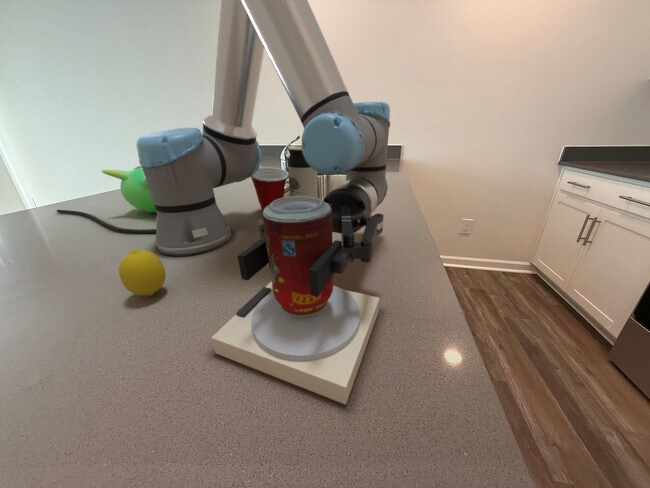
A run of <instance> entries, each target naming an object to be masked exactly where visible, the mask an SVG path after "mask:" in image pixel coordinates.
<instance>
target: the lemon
mask: <svg viewBox="0 0 650 488" xmlns="http://www.w3.org/2000/svg"><path fill="white" fill-rule="evenodd" d="M118 273H119V275H118V276H119V279H120V281H121V283H122V285H123V286H124V288H125V289H126V290H127V291H128V292H130V293H131V294H134V295H137V296H150V297H151V296H153V295H155V294H156V292H158V291H159V290H160V289H161V288H162V287H163V285H164V284H165V281H166V276H167V275H166V270H165V266H164V264H163V262H162V260H161V259H160V258H159V256H158V255H156V254H155V253H154V252H151V251H148V250H145V249H137V248H134V249H132V250H131V251H130V252H128V253H127V254H126V255H125V256H124V257H123V258H121V261H120V263H119V265H118Z"/></svg>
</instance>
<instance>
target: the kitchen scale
mask: <svg viewBox="0 0 650 488" xmlns="http://www.w3.org/2000/svg"><path fill="white" fill-rule="evenodd" d="M379 310H380V297H379V296H374V295H370V294H365V293H361V292H356V291H351V290H347V289H344V288H341V287H338V286H336V285H334V284H333V292H332V294H331V296H330V298H329V299H328V302H327V305H326V307H325V308H324V309H323V310H322V311H320V312H318V313H316V314H314V315H311V316H305V317H302V316H293V315H290V314H288V313H286V312H285V311H284V310H283V309H282V307H281V305H280V304H279V303H278V301H277V300H276V299H275V297H274V294H273V288H272V280H271V281H270V282H269V283H268V284H267V285H266V286H263V287H262V288H261V289H260V290H259V291H258V292H257V293H256V294H255V295H254V296H253V297H251V298H250V299H249V300H248V301H247V302H246V303H245V304H244V305H243V306H242V307H241V308H239V310H237V312H236V313H235V315H234V316H232V318H230V319H229V320H228V321H227V322H226V323H225V324H224V325H222V327H221V328H220V329H219V330H218V331H216V332H215V333H214V334H213V335H212V336H211V338H210V339H211V342H212V347H213V349H214V352H215V355H218V356H221V357H224V358H226V359H229V360H232V361H234V362H236V363H239V364H242V365H244V366H246V367H248V368H251V369H254V370H257V371H259V372H261V373H264V374H267V375H269V376H272V377H273V378H276V379H279V380H281V381H285V382H286V383H290V384H291V385H294V386H297V387H300V388H302V389H305V390H307V391H310V392H312V393H315V394H317V395H320V396H322V397H325V398H327V399H329V400H332V401H334V402H338V403H340V404H343V405H345V406H346V405H347V403H348V400H349V397H350V394H351V391H352V389H353V387H354V383H355V380H356V377H357V375H358V371H359V369H360V366H361V364H362V360H363V357H364V355H365V352H366V349H367V346H368V343H369V340H370V337H371V334H372V332H373V328H374V326H375V323H376V320H377V318H378V315H379V312H380V311H379Z"/></svg>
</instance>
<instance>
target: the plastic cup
mask: <svg viewBox="0 0 650 488" xmlns="http://www.w3.org/2000/svg"><path fill="white" fill-rule="evenodd" d="M288 178H289V171H287V170H285V169H282V168H279V167H272V166H260V167H259V169H258V171H257V172H256V173H255V174H254V175H253V176H251V177H250V179H251V181H252V183H253V187H254V190H255V193H256V197H257V200H258V203H259V206H260V209H261V211H262V212H261V213H263V210H264V209H265V208H266V207H267V206H268V205H270V204H271V203H272V202H273V201H274V200H277V199H279V198H283V197H285V189H286V183H287V179H288Z"/></svg>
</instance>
